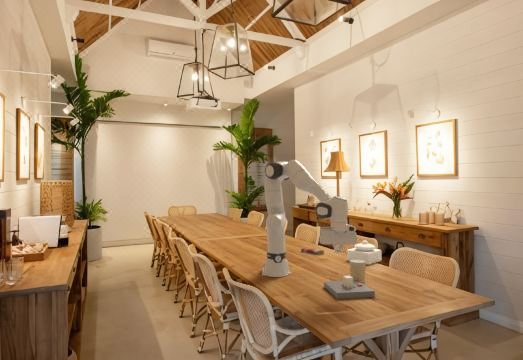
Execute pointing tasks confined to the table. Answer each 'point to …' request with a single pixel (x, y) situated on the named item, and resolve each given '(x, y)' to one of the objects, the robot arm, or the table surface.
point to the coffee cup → (358, 270)
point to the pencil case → (312, 251)
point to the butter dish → (364, 253)
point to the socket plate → (349, 290)
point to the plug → (347, 281)
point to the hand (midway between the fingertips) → (337, 252)
